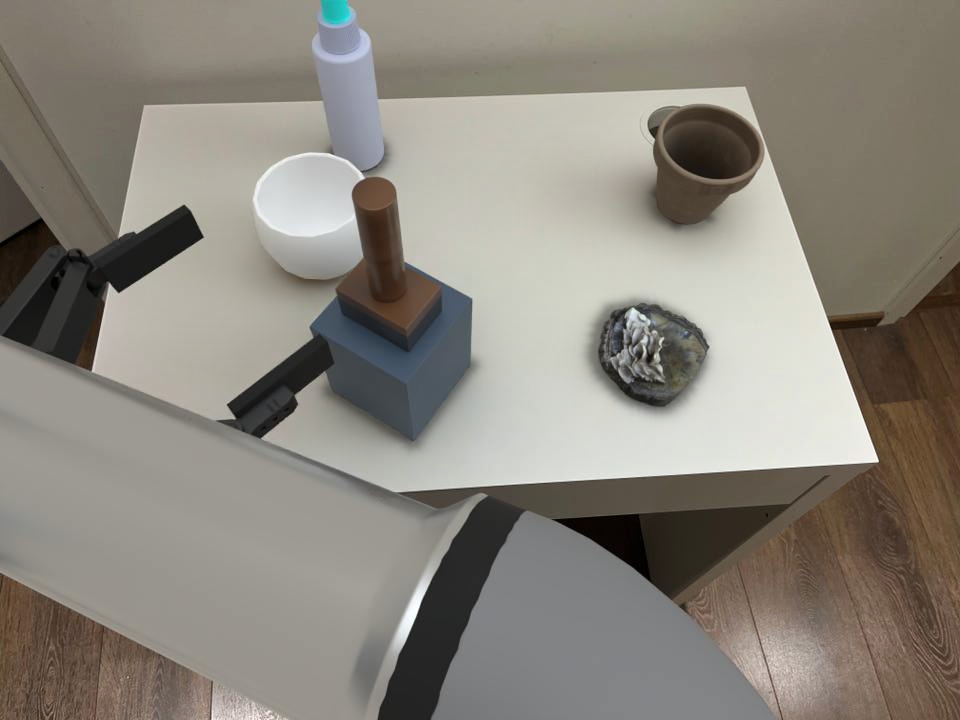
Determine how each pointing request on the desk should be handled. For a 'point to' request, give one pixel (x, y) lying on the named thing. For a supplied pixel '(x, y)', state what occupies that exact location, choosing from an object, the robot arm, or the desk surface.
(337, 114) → the spray bottle
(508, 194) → the desk surface
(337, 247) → the cup
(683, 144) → the flower pot
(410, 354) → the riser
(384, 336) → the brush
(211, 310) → the desk surface
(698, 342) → the grey rough lump
